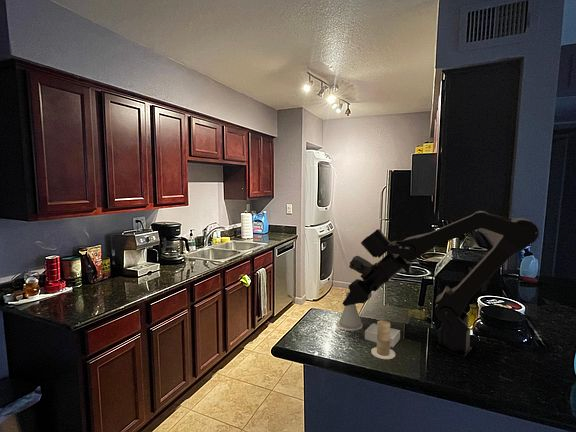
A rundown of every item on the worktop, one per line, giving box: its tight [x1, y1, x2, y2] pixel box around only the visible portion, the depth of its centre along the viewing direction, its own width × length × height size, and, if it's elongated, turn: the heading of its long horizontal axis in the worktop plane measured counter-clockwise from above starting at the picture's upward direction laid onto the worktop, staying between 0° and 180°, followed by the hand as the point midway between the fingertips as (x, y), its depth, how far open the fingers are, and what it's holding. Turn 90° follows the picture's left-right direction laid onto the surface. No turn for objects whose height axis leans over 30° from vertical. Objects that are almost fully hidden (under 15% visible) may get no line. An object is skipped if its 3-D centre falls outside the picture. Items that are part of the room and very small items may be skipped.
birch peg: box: [376, 319, 391, 356], centre depth 80 cm, size 3×3×8 cm
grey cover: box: [364, 322, 401, 348], centre depth 87 cm, size 8×6×3 cm
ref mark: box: [370, 346, 396, 360], centre depth 80 cm, size 6×6×1 cm
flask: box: [338, 291, 363, 329], centre depth 96 cm, size 7×7×10 cm
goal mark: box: [336, 319, 363, 331], centre depth 97 cm, size 8×8×1 cm
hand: (348, 299), depth 96 cm, fingers open, 9 cm apart
